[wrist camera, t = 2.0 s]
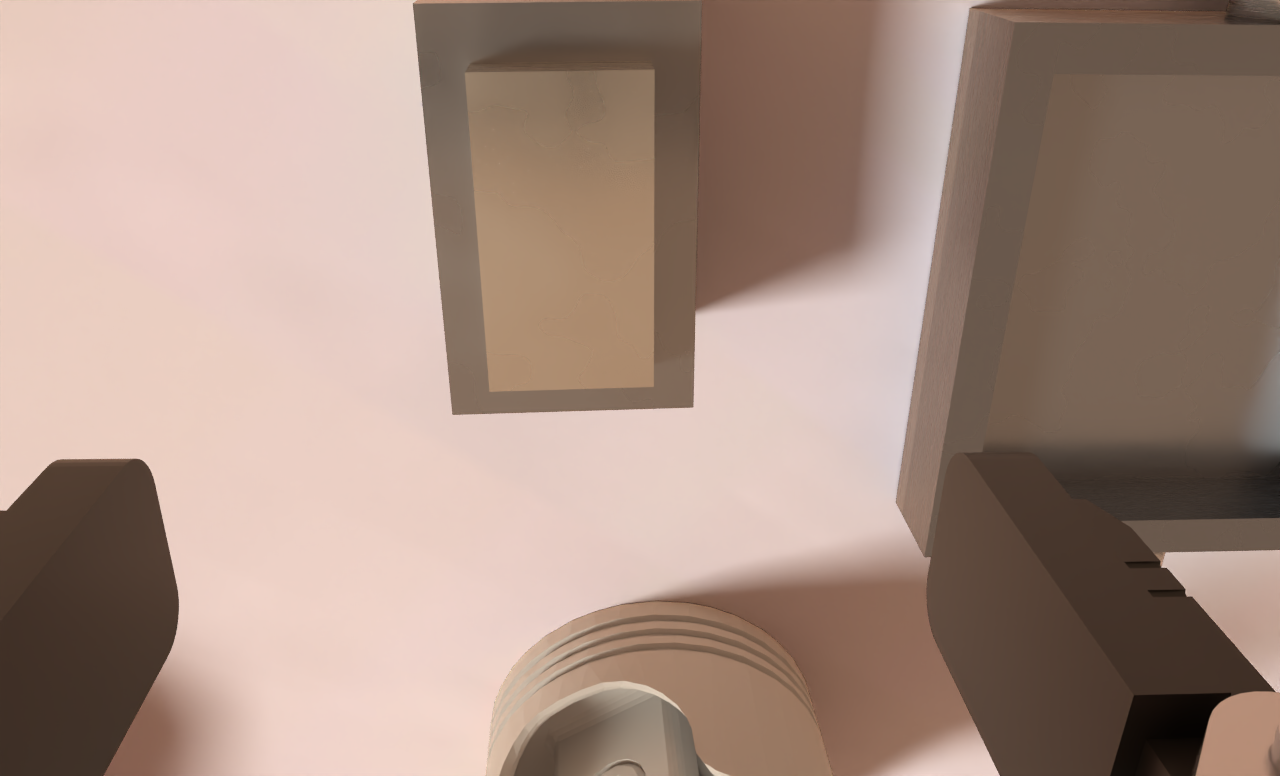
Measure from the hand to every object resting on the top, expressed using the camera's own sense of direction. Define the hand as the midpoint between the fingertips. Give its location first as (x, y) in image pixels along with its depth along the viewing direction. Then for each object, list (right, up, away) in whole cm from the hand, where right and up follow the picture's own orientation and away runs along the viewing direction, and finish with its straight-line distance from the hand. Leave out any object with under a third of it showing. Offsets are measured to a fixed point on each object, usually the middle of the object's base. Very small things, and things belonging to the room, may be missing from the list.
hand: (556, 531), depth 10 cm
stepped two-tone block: (-1, +7, +13) cm, 15 cm away
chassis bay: (+14, +4, +16) cm, 21 cm away
